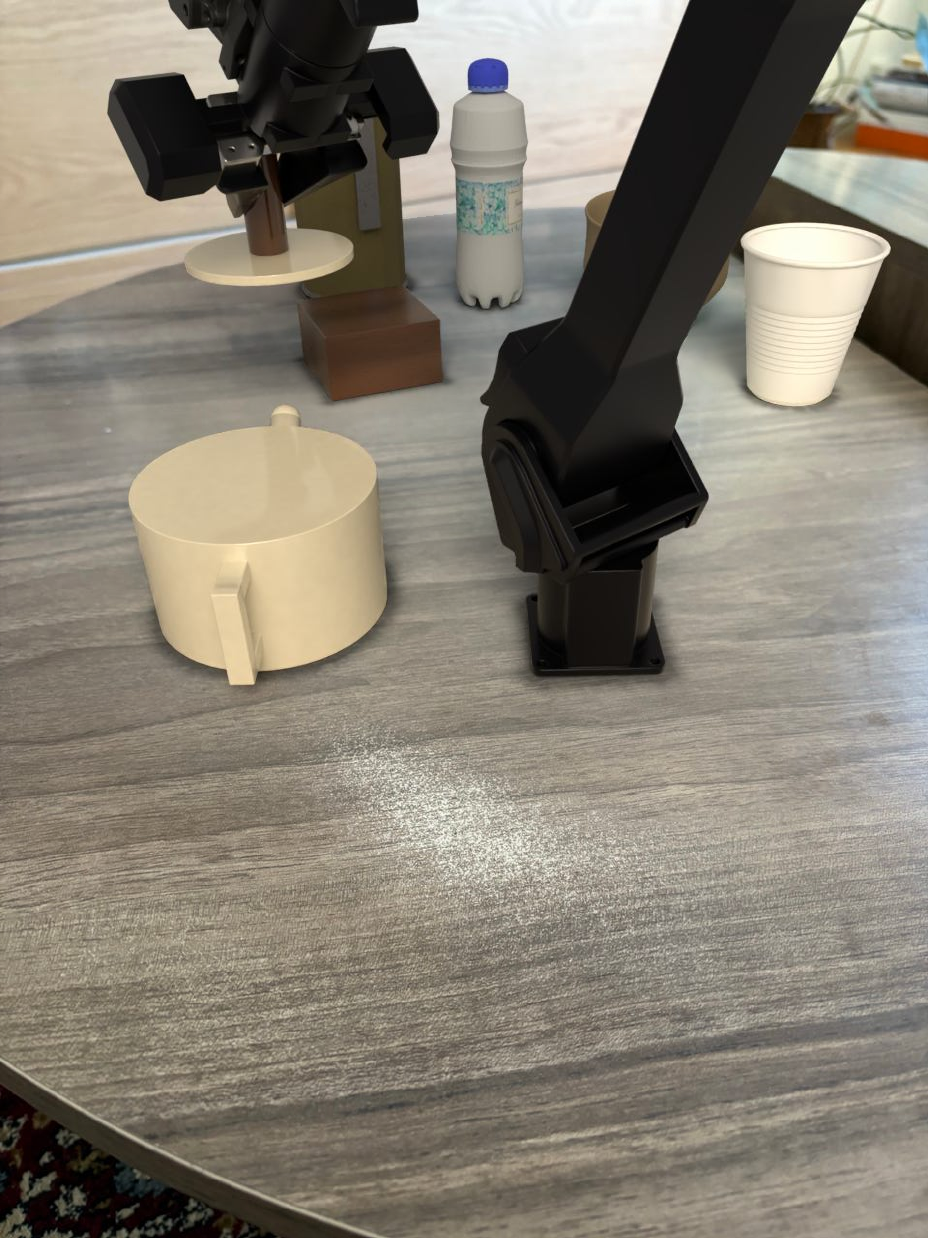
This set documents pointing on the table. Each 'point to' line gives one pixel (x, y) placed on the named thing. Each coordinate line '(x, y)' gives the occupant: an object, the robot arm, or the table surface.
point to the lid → (269, 245)
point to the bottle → (489, 186)
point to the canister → (361, 221)
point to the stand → (370, 341)
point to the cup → (804, 305)
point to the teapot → (262, 545)
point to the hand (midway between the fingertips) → (254, 207)
